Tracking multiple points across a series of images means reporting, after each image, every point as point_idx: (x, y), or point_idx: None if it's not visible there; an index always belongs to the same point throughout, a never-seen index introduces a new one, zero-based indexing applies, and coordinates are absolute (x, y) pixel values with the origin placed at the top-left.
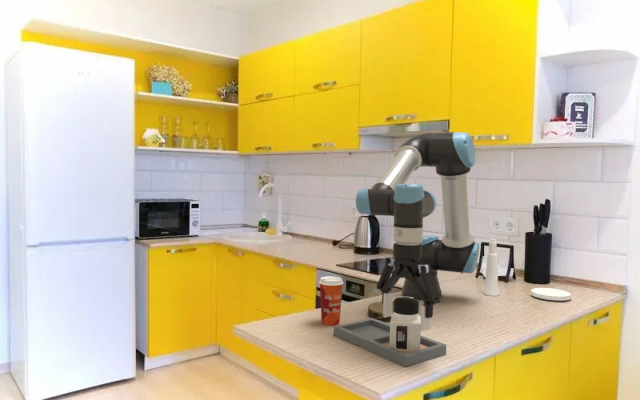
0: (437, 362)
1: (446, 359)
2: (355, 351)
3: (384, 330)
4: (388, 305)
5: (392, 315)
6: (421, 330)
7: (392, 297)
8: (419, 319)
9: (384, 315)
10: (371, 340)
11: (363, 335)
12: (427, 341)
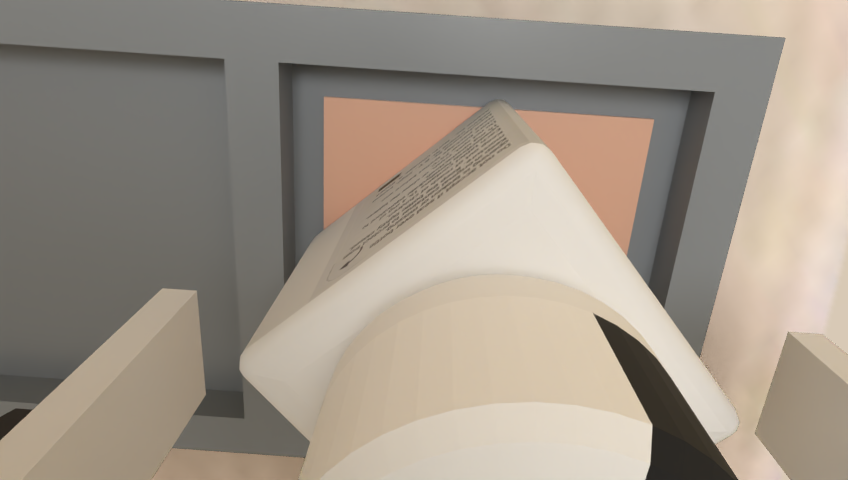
0: (760, 233)
1: (789, 131)
2: (271, 474)
3: (49, 60)
4: (131, 447)
5: (309, 435)
6: (764, 435)
7: (38, 461)
8: (650, 319)
9: (187, 409)
10: (290, 436)
11: (85, 301)
12: (582, 82)
